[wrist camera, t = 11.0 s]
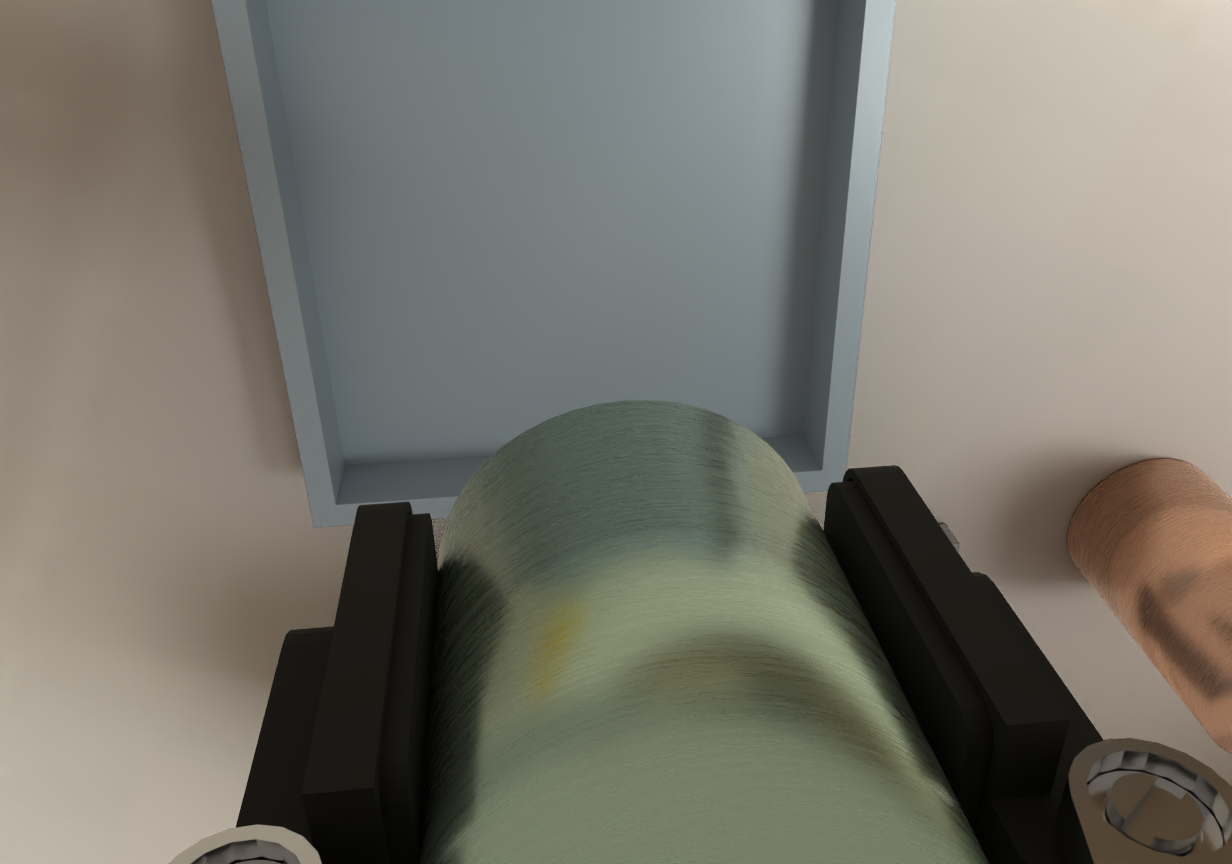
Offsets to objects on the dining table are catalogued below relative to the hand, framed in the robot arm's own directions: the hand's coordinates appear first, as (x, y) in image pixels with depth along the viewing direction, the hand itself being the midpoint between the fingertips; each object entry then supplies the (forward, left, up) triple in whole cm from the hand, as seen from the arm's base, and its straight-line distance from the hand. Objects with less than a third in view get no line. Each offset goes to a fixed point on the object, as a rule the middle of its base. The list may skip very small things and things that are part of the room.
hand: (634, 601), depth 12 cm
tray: (0, 0, -14) cm, 14 cm away
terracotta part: (-17, +10, -14) cm, 24 cm away
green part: (0, 0, -1) cm, 1 cm away
